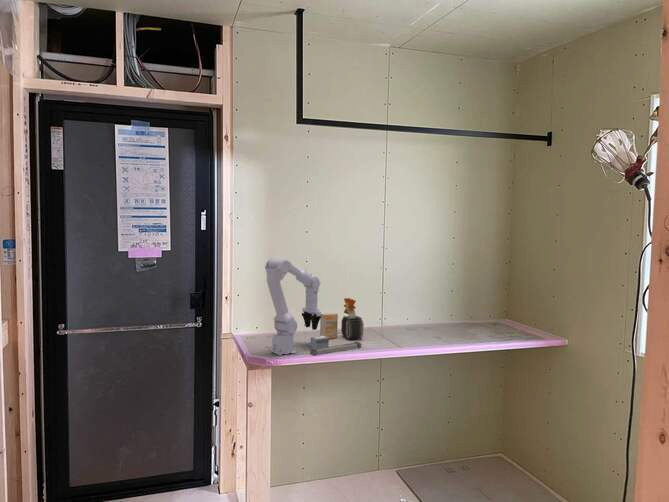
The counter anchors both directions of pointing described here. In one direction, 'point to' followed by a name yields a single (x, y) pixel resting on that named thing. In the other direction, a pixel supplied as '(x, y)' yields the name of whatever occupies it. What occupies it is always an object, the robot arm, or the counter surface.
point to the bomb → (351, 322)
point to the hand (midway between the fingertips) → (311, 328)
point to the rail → (335, 348)
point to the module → (319, 342)
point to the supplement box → (329, 325)
